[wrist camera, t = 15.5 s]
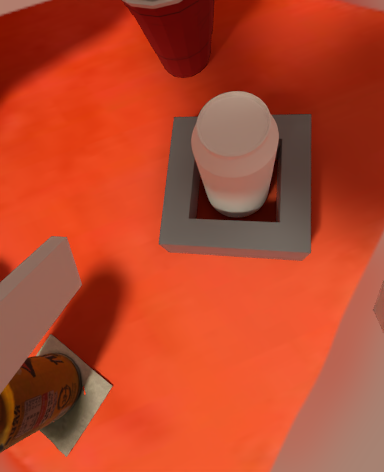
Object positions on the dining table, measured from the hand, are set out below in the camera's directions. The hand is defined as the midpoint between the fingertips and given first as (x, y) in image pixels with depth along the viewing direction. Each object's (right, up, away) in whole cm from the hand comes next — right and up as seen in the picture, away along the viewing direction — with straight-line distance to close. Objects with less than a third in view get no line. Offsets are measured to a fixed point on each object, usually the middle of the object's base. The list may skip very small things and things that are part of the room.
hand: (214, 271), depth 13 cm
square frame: (+4, +6, +18) cm, 20 cm away
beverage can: (+4, +6, +19) cm, 20 cm away
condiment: (-14, -14, +17) cm, 26 cm away
